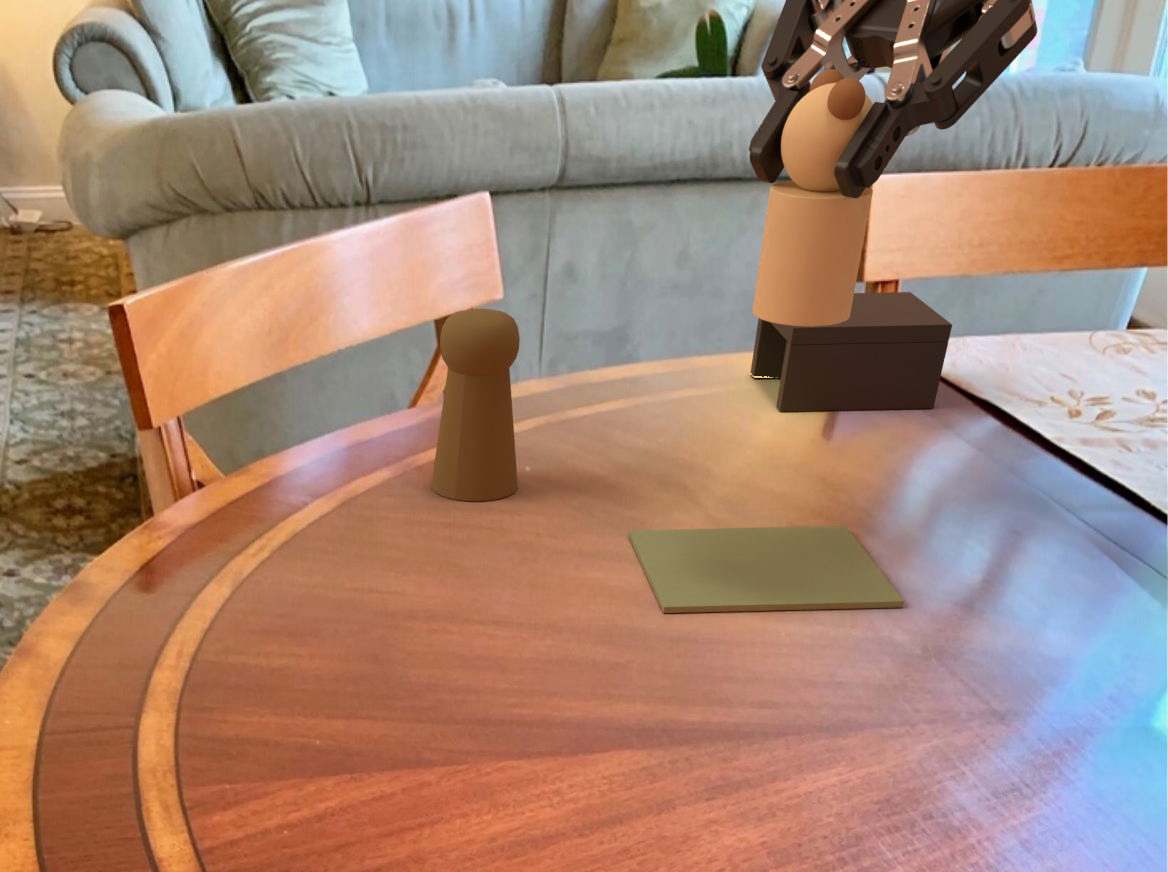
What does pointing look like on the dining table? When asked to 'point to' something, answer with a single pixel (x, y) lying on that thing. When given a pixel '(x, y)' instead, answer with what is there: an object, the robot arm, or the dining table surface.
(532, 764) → the dining table surface
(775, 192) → the toy bear
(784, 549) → the mat
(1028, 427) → the dining table surface
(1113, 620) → the dining table surface
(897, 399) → the brown u-shaped bridge
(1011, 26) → the robot arm
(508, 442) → the brown pepper mill
